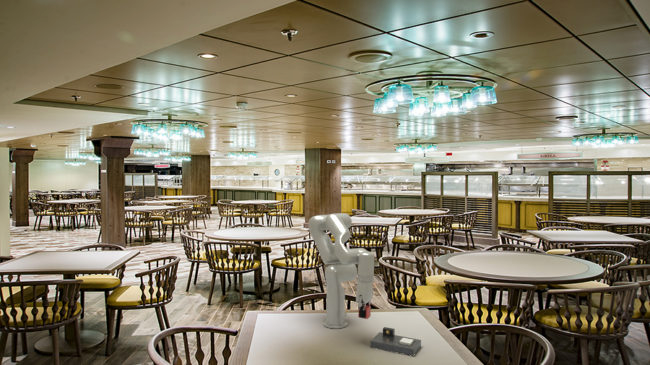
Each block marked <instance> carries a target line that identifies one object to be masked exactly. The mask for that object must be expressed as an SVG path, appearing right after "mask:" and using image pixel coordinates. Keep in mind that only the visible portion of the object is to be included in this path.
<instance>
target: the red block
mask: <svg viewBox="0 0 650 365" xmlns="http://www.w3.org/2000/svg"><path fill="white" fill-rule="evenodd" d="M362 305H363V304H362ZM363 307H364V305H363ZM371 309H372V307H371V305H370V306H369V305H366V307H365V310H366V318H365V319H364V320H368V319H369V318H370V317H371V315H372V314H371V312H372V311H371ZM357 314H358V316H357V317H358V318H359V310H358V313H357Z"/></svg>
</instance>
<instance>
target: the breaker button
mask: <svg viewBox="0 0 650 365" xmlns="http://www.w3.org/2000/svg"><path fill="white" fill-rule="evenodd" d="M413 343H414V340H412V339H407V338H402V339H401V340H400V344H403V345H408V346H412V345H413Z"/></svg>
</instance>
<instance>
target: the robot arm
mask: <svg viewBox="0 0 650 365" xmlns="http://www.w3.org/2000/svg"><path fill="white" fill-rule="evenodd" d="M352 222H353V221H352V217H351V216H350V214H349V213H346V212H345V213H344V212H339V213H338V212H337V213H330V214H318V215H313V216H312V217H310V218H309V220H308V230H309V234H310V236H311V238H312V240H313V241H314V242H315V245H316V248H317V250H318V253H319V256H320V258H321V261H322V262H323V263H324V264H325V265H328V266H326V268H325V270H324V276H325V277H324V278H325V283H326V314H325V315H326V319H324V320H323V324H322V325H323V326H324V327H325V328H329V329H337V330H338V329H344V328H345V327H347V326H348V324H349V323H348V321H347V320H345V319H346V317H347V313H346V291H345V288H344V286H343V285H342V283H344V282H345V283H346V282H350V281H351V282H352V281H354V280H355V279H356V278H357V285H356V294H355V295H356V296H355V303H357V307H358V311H359V317H358V318H360V319H364V320H366V319H365V318H366V310H365V307H366V305H369V306H371V302H372V299H373V293H374V292H373V290H374V288H373V285H374V284H373V283H374V279H375V272H374V270H375V254H374V252H372V251H368V250H367V249H365V248H363V247H358V248H348V247H347V246H345V245H343V244H344V243H346V242H347V241H348V240H349V239H350V238H351V231H350V229H349V228H351V226H352V224H353V223H352ZM325 231H329V232H330V234H331V235H332V237H333V239H334V243H333V241H332V238H331V237H330V236H329V235H328V234H327V233H326V232H325ZM356 265H357V266H356ZM362 304H363V305H364V307H363V305H362Z"/></svg>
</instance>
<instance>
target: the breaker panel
mask: <svg viewBox="0 0 650 365" xmlns="http://www.w3.org/2000/svg"><path fill="white" fill-rule="evenodd" d="M402 338H407V339H412V340H414V343H413V345H412V346H408V345H403V344H400V340H401V339H402ZM369 347H370V348H372V349H376V348H377V349H378V350H381V349H382V351H387V352H391V351H392V353H395V352H398V354H400V353H404V354H403V355H405V354H409V355H408V356H410V355H414V354H415V353H416V352H417V353H418V351H419V350H420V349H421V347H422V339H419V338H411V337H407V336H402V335H396V333H395V328H392V327H383V328H382V331H381V332H378V333H377V334H376V335H375V336H374V337H373V338H372V339H371V340H370V344H369ZM419 348H420V349H419ZM377 349H376V350H377ZM418 349H419V350H418ZM417 353H416V354H417ZM416 354H415V355H416ZM415 355H414V356H415Z"/></svg>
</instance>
